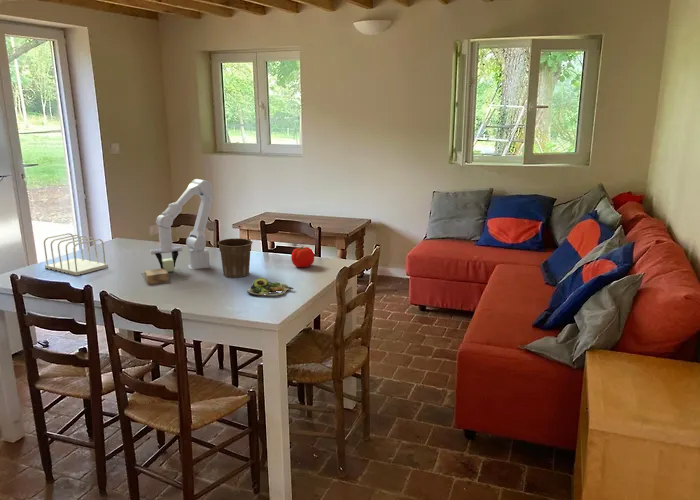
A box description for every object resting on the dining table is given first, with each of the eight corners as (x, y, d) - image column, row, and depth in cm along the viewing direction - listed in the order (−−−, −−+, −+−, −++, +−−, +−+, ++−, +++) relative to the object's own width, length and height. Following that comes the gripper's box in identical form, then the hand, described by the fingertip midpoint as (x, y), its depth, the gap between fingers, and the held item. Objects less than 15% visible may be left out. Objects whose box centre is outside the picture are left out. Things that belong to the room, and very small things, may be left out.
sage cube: (172, 267, 271) (171, 258, 270) (174, 270, 267) (173, 260, 266) (161, 269, 269) (161, 259, 268) (163, 271, 265) (162, 261, 264)
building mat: (179, 269, 275) (179, 268, 274) (187, 280, 257) (187, 279, 257) (140, 274, 266) (140, 273, 266) (147, 285, 249) (146, 284, 249)
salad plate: (298, 286, 250) (298, 276, 249) (287, 299, 233) (287, 289, 232) (257, 284, 253) (256, 274, 252) (243, 296, 236) (243, 286, 235)
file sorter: (108, 267, 277) (105, 237, 273) (76, 276, 262) (73, 244, 259) (76, 261, 289) (73, 231, 285) (44, 269, 274) (40, 238, 270)
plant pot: (260, 272, 270) (259, 240, 266) (239, 281, 256) (237, 247, 252) (234, 268, 278) (232, 236, 274) (212, 276, 264) (210, 243, 260)
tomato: (309, 262, 289) (309, 243, 286) (317, 268, 279) (317, 248, 276) (287, 265, 284) (287, 245, 281) (295, 270, 274) (295, 250, 271)
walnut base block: (165, 276, 262) (164, 268, 261) (168, 281, 254) (167, 273, 253) (145, 278, 258) (144, 270, 257) (147, 284, 250) (147, 275, 249)
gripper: (179, 236, 271) (181, 263, 275) (148, 239, 265) (150, 267, 268) (182, 239, 265) (184, 266, 268) (150, 242, 259) (153, 270, 262)
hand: (167, 267), depth 268 cm, fingers closed on sage cube, 5 cm apart
